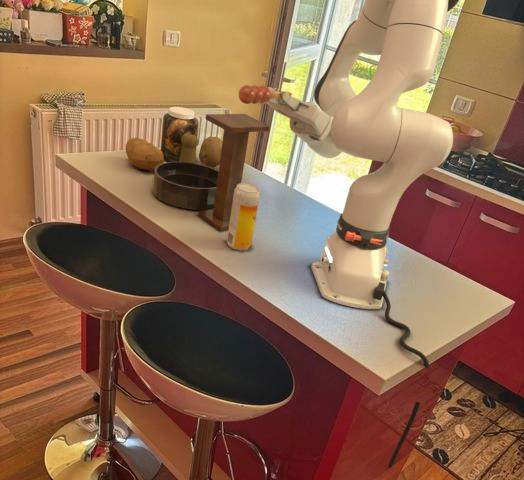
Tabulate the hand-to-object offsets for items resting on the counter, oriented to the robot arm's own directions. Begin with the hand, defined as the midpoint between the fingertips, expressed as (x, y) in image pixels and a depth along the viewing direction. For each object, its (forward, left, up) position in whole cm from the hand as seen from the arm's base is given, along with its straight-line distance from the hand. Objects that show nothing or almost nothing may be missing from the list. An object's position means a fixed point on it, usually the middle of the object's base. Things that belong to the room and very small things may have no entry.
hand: (278, 92), depth 135 cm
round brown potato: (+31, +18, -32) cm, 48 cm away
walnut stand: (-8, +8, -32) cm, 34 cm away
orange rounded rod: (-3, +3, -2) cm, 5 cm away
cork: (+24, +25, -32) cm, 48 cm away
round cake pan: (+3, +20, -32) cm, 38 cm away
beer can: (-22, +3, -32) cm, 39 cm away
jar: (+34, +30, -32) cm, 56 cm away
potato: (+18, +37, -32) cm, 52 cm away
